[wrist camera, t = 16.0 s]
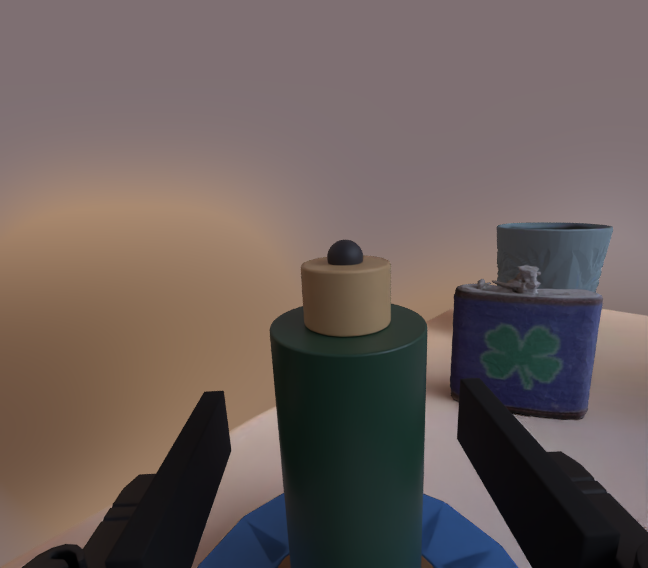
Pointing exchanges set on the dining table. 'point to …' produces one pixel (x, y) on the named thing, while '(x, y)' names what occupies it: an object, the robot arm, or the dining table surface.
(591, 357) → the flask
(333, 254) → the green cylinder
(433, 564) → the tape roll
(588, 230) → the grey faceted cup
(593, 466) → the dining table surface
